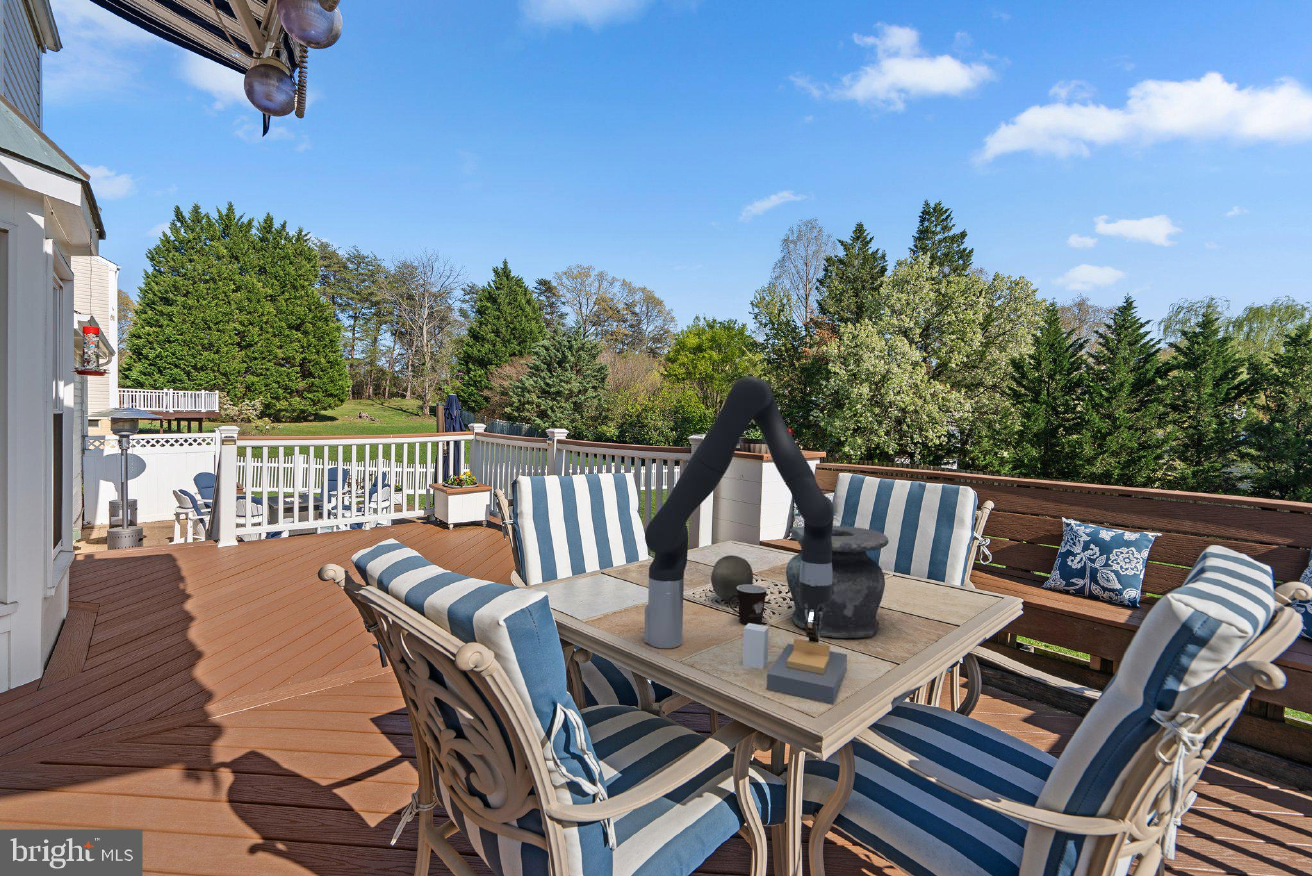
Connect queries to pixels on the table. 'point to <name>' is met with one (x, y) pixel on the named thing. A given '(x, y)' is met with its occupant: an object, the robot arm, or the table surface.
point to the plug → (755, 646)
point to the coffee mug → (750, 603)
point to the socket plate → (807, 678)
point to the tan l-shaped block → (809, 656)
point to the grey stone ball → (730, 576)
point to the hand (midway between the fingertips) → (813, 652)
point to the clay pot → (845, 583)
